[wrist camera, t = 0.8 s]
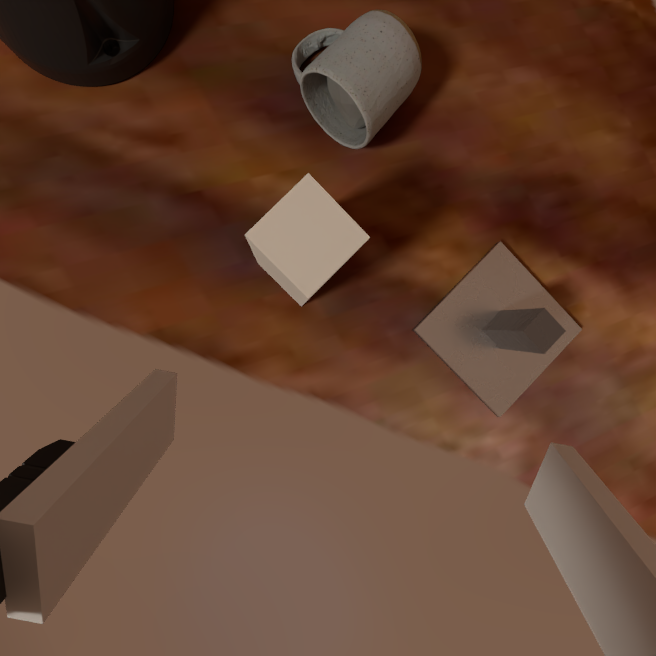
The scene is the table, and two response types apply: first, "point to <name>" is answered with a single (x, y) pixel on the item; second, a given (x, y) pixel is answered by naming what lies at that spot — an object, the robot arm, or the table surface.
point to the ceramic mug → (358, 75)
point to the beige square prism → (305, 239)
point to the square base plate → (497, 329)
